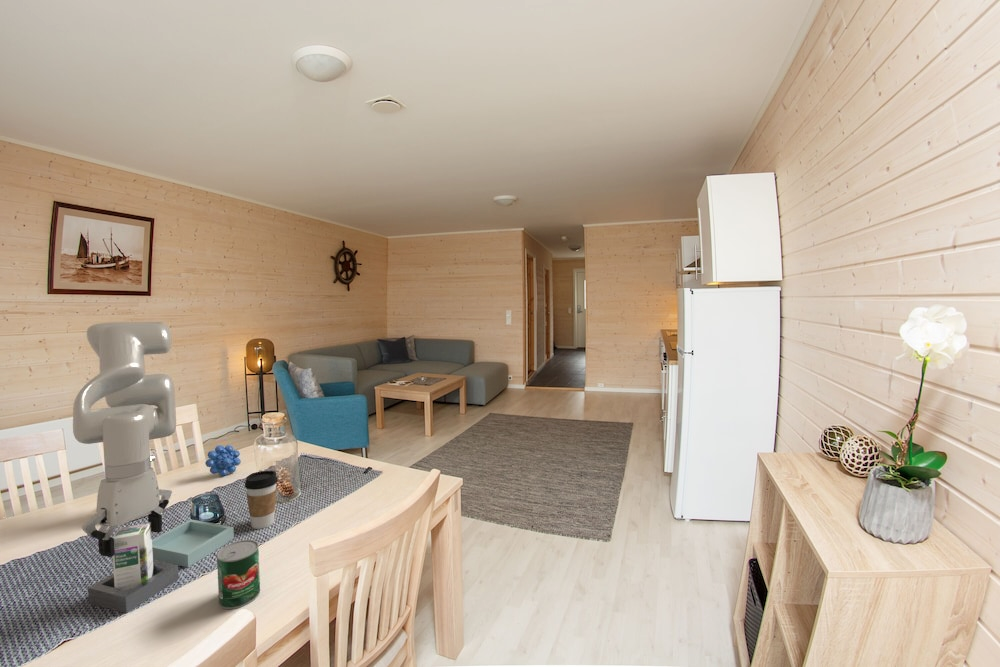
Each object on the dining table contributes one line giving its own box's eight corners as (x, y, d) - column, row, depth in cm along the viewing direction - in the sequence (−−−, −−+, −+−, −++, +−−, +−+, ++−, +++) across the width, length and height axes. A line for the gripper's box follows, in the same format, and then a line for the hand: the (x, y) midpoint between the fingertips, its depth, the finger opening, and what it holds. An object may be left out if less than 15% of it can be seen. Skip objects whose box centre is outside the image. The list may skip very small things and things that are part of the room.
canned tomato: (244, 580, 98) (243, 536, 97) (268, 590, 95) (266, 544, 94) (210, 603, 91) (208, 555, 90) (234, 614, 88) (232, 564, 87)
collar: (88, 603, 90) (87, 587, 90) (143, 571, 101) (142, 557, 101) (126, 613, 88) (125, 597, 87) (178, 579, 98) (177, 565, 98)
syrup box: (114, 603, 90) (110, 539, 89) (123, 586, 96) (119, 526, 94) (147, 595, 93) (144, 532, 92) (154, 579, 98) (151, 520, 97)
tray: (142, 557, 106) (141, 545, 106) (191, 530, 119) (190, 519, 119) (188, 567, 103) (187, 554, 102) (233, 538, 115) (233, 527, 115)
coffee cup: (264, 533, 118) (262, 481, 117) (239, 529, 120) (237, 478, 119) (285, 518, 126) (284, 470, 125) (261, 514, 128) (259, 467, 127)
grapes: (211, 484, 148) (210, 451, 147) (203, 479, 152) (202, 447, 151) (246, 473, 158) (245, 442, 157) (237, 469, 161) (236, 439, 160)
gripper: (156, 453, 101) (159, 521, 102) (67, 482, 84) (72, 563, 86) (180, 456, 99) (183, 525, 100) (94, 486, 83) (99, 569, 84)
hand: (132, 542), depth 93 cm, fingers open, 9 cm apart
